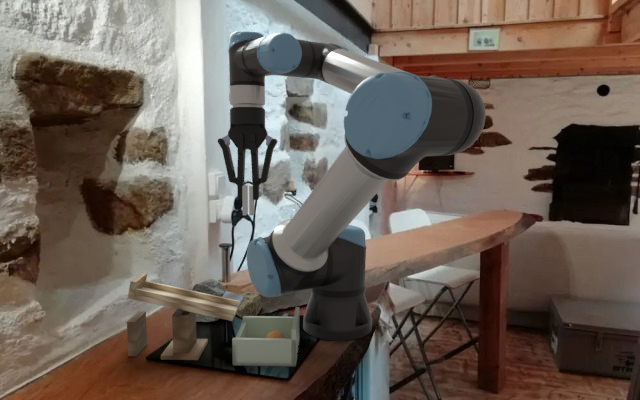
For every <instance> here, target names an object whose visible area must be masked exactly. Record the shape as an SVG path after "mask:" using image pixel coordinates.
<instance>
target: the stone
mask: <svg viewBox="0 0 640 400" xmlns="http://www.w3.org/2000/svg"><path fill="white" fill-rule="evenodd" d="M191 290H192V291H196V292H201V293H206V294H210V295H215V296H219V297H222V296H223V295H224V293H225V292H226V291H228V289H226V288H225V286H223V284H221V282H220V281H219V280H217V279H213V278H210V279H207V280H204V281H202V282H198V283H196V284H194V285H193V287H192V289H191ZM219 320H220V318H216V317H211V316H207V315H202V314H197V313H196V323H198V322H199V323H200V322H201V323H212V322H216V321H219Z"/></svg>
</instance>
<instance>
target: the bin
mask: <svg viewBox="0 0 640 400" xmlns="http://www.w3.org/2000/svg"><path fill="white" fill-rule="evenodd" d="M300 312H301V311H300V306H296V307H295V309H294V313H293V315H294V316H282V315H281V316H279V315H277V316H274V315H273V316H271V315H269V316H268V315H267V316H265V315H256V316H243V318H242V323H241V324H240V327H239V329H238V331H237V334H236V336H235V337H232V341H231V342H232V343H231V346H232V347H231V348H232V349H231V351H232V356H231V357H232V366H239V367H240V366H245V367H246V366H248V367H251V366H252V367H256V366H257V367H296V366H297V360H298V354H297V353H299V347H300V346H299V345H300V321H301V320H300V314H301V313H300ZM272 331H279V332H281V333H282V334H283V336H284V338H266V337H267V335H268V334H269V333H270V332H272ZM298 346H299V347H298Z"/></svg>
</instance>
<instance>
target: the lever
mask: <svg viewBox="0 0 640 400" xmlns="http://www.w3.org/2000/svg"><path fill="white" fill-rule="evenodd" d="M147 276H148V273H147V272H141V273H140V274H138V275H137V276H135V277H134V278H133V279H131V280H130V282H129V287H128V288H129V289H128V294H127V299H129V300H133V301H138V302H143V303H147V304H153V305H156V306H162V307H165V308H171V309H175V311H176V312H175V311H174V313H175V315H176V316H177V317H179V316H181V314H182V313H183V312H184V311H188V312H193V313H197V314H202V315H207V316H211V317H216V318H219V320H220V319H221V320H226V321H230V322H233V321H234V319H235V316H236V315H237V314H236V313H237V311H238V309H239V307H240V305H241V303H242V301H243V299H244V295H242V293H236V292H232V291H228V290H227V291H226V292H225V293H224V295H223V296H222V297H219V296H215V295H210V294H206V293H201V292H196V291H192V289H187V288H183V287H177V286H173V285H168V284H163V283H158V282H156V281H155V282H154V281H150V280H147V278H148V277H147Z"/></svg>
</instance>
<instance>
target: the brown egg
mask: <svg viewBox="0 0 640 400" xmlns="http://www.w3.org/2000/svg"><path fill="white" fill-rule="evenodd" d="M266 338H284V336H283V334H282V333H281V332H279V331H272V332H270V333H269V334H268V335H267V337H266Z"/></svg>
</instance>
